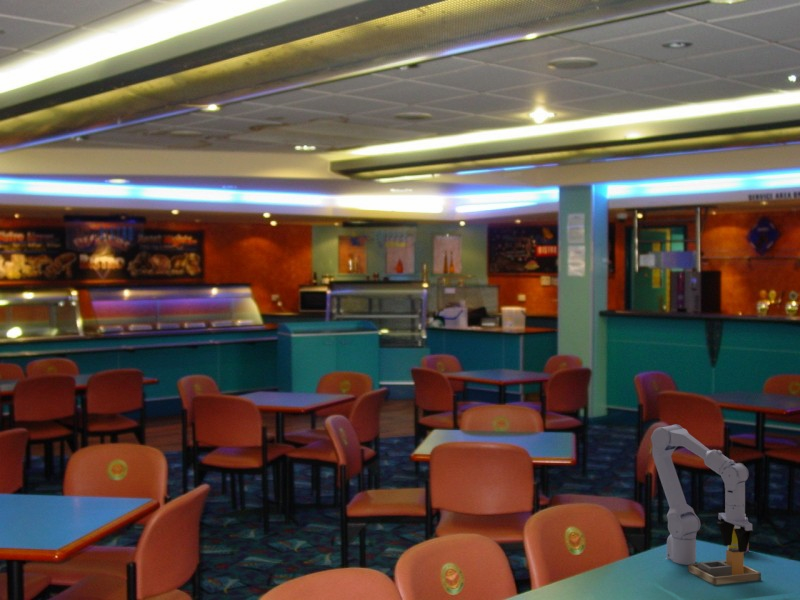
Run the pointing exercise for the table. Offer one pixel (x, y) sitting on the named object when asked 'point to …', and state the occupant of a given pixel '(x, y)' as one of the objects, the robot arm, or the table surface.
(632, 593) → the table surface
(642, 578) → the table surface
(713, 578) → the walled box
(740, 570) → the plug
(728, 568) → the inlet socket
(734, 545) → the supplement bottle
